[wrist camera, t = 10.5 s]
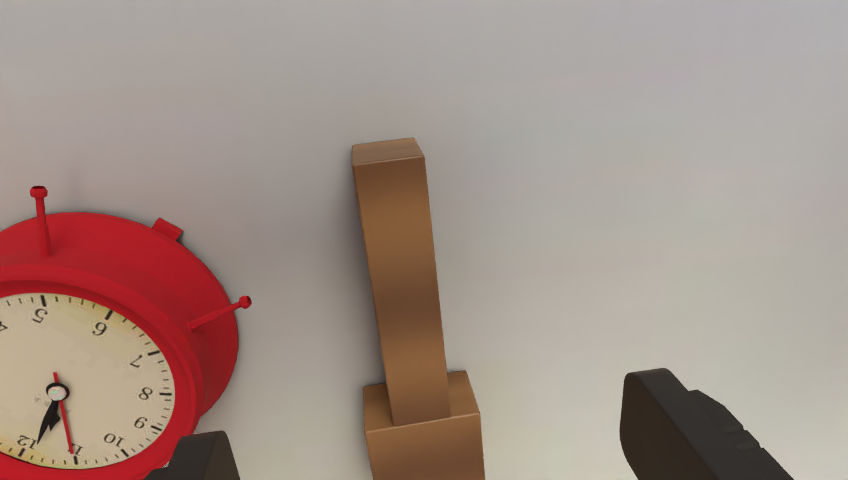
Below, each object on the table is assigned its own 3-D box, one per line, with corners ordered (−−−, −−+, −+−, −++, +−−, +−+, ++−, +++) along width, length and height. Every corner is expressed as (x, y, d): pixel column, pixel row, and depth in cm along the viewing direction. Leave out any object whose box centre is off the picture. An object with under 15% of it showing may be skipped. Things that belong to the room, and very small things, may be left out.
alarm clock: (293, 320, 18) (64, 675, 19) (290, 274, 24) (116, 544, 25) (-30, 150, 15) (-300, 585, 15) (59, 145, 21) (-138, 459, 21)
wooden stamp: (319, 149, 20) (315, 169, 17) (445, 133, 20) (460, 150, 18) (377, 468, 26) (380, 520, 23) (473, 451, 27) (487, 501, 24)
